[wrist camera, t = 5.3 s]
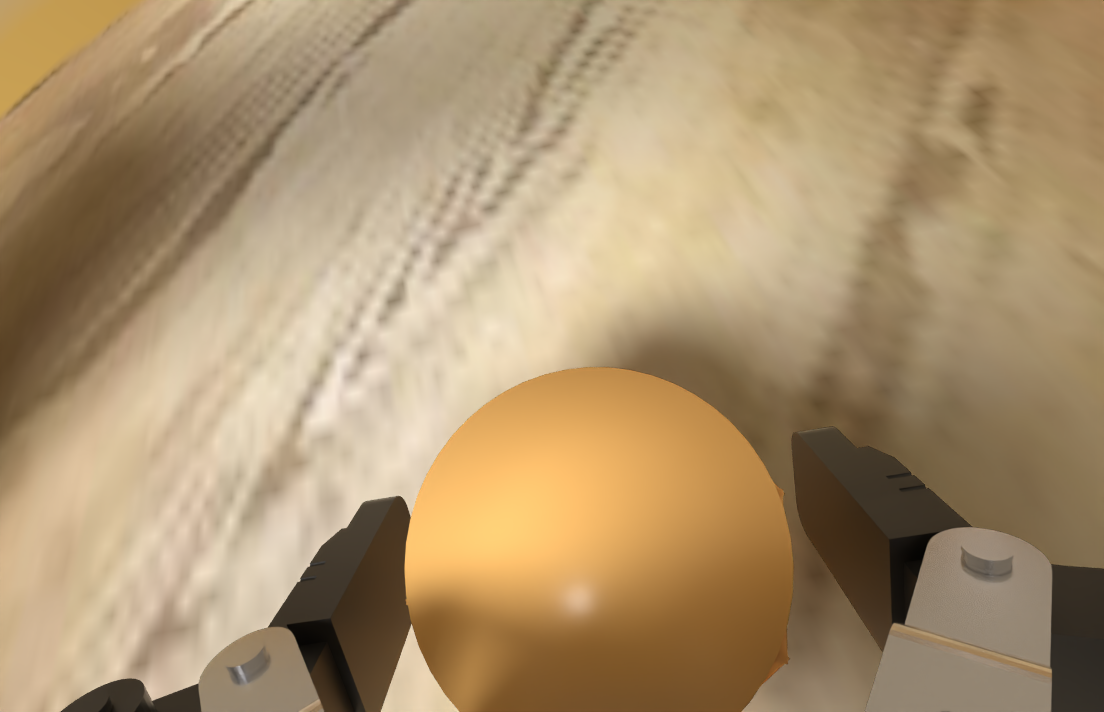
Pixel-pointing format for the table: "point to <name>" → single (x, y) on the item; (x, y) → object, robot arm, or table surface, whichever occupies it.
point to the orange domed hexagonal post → (599, 553)
